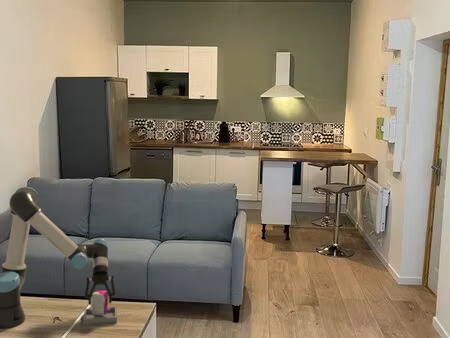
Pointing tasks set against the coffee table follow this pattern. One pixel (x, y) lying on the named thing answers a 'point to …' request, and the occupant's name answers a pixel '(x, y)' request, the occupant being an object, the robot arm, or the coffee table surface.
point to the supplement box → (100, 303)
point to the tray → (106, 319)
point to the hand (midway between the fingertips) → (100, 309)
